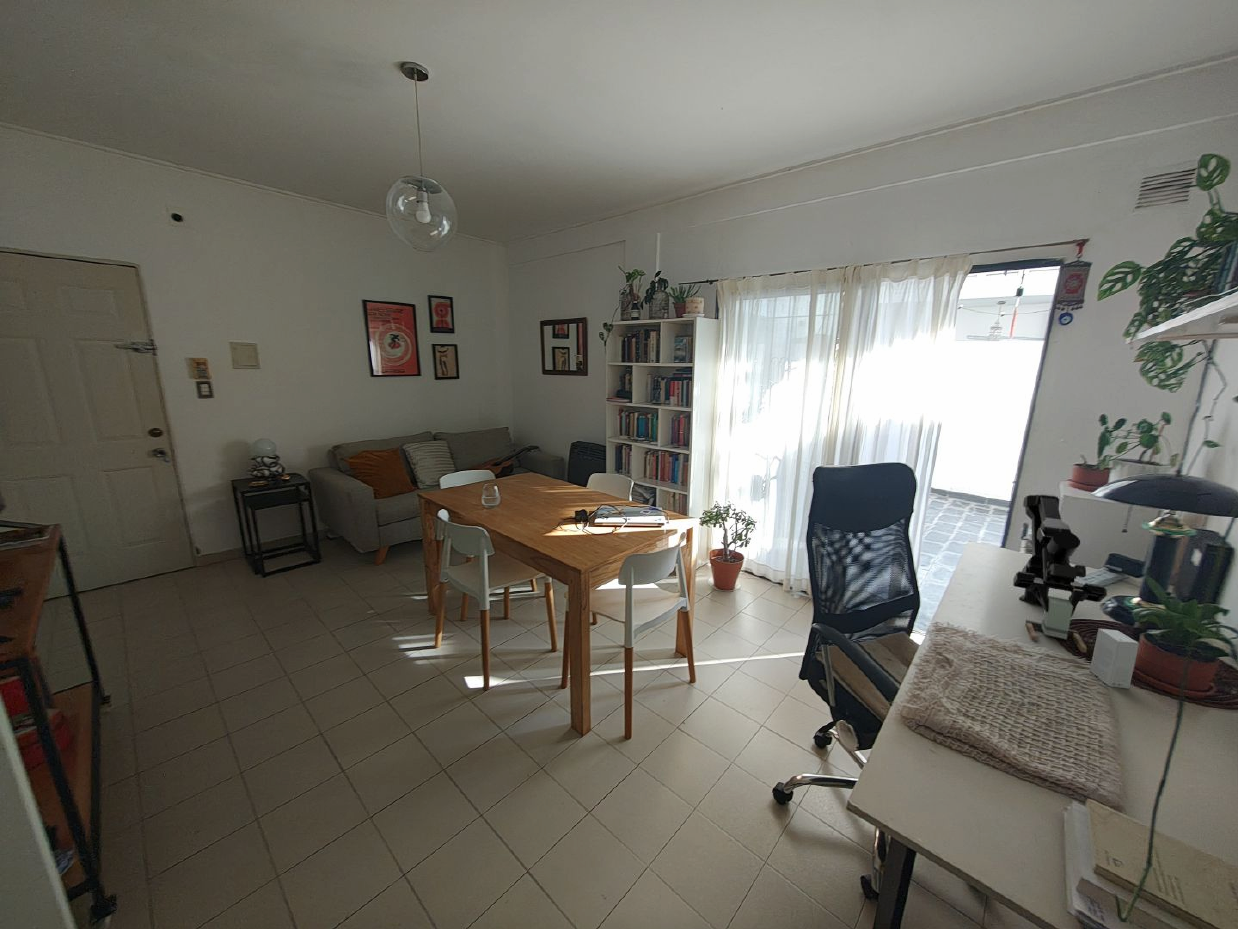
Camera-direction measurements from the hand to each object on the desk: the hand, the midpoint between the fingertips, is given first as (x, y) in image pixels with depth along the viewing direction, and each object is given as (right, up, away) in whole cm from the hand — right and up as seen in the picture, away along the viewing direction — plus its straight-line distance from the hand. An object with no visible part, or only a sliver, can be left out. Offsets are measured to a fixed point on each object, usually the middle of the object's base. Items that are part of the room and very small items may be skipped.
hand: (1058, 614), depth 126 cm
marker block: (+1, -6, +2) cm, 7 cm away
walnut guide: (0, -7, +2) cm, 8 cm away
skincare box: (-4, -11, -16) cm, 20 cm away
